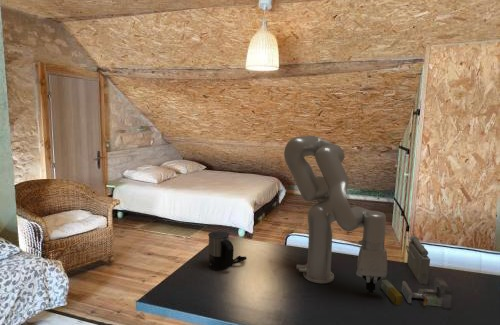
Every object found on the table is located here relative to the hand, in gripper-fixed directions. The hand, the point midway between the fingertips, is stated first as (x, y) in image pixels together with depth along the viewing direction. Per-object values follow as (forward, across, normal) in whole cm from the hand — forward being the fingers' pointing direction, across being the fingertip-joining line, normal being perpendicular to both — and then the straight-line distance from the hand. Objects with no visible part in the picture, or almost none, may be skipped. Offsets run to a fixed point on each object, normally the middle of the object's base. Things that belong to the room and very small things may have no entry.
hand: (370, 291), depth 125 cm
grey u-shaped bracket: (+2, +23, 0) cm, 23 cm away
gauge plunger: (+1, +18, -1) cm, 18 cm away
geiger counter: (+2, +23, +25) cm, 34 cm away
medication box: (+2, +8, 0) cm, 8 cm away
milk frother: (+1, -58, +14) cm, 60 cm away
